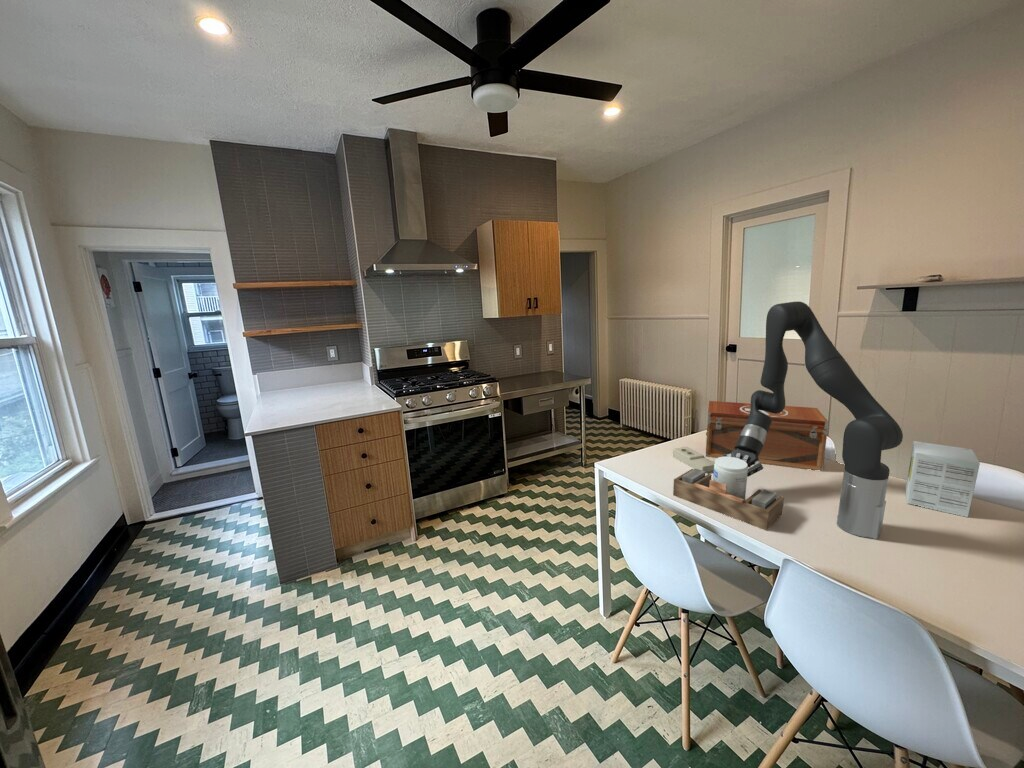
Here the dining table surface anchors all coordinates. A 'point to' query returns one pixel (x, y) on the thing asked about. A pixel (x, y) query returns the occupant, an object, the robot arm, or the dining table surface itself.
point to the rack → (729, 499)
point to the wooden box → (771, 434)
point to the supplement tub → (731, 475)
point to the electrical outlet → (693, 459)
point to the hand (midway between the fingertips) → (733, 483)
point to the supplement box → (942, 477)
